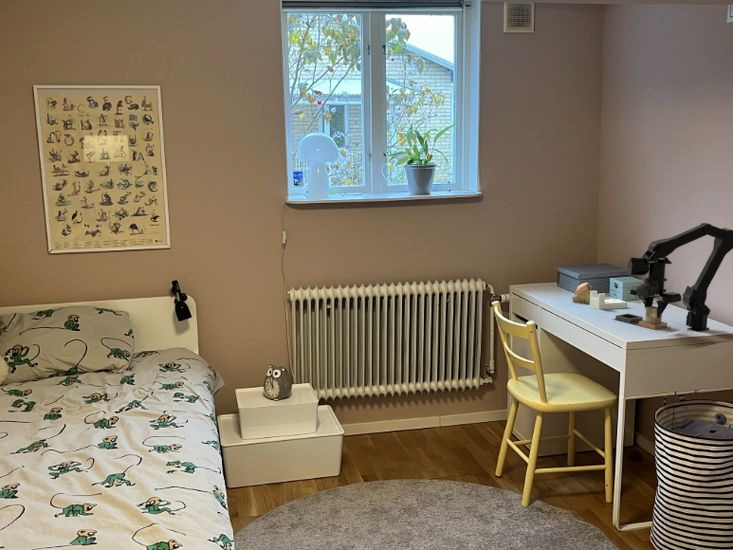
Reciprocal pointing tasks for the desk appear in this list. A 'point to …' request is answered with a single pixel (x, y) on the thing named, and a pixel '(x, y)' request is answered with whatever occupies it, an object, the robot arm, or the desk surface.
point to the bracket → (605, 302)
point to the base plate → (639, 321)
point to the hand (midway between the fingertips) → (653, 316)
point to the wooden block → (652, 315)
